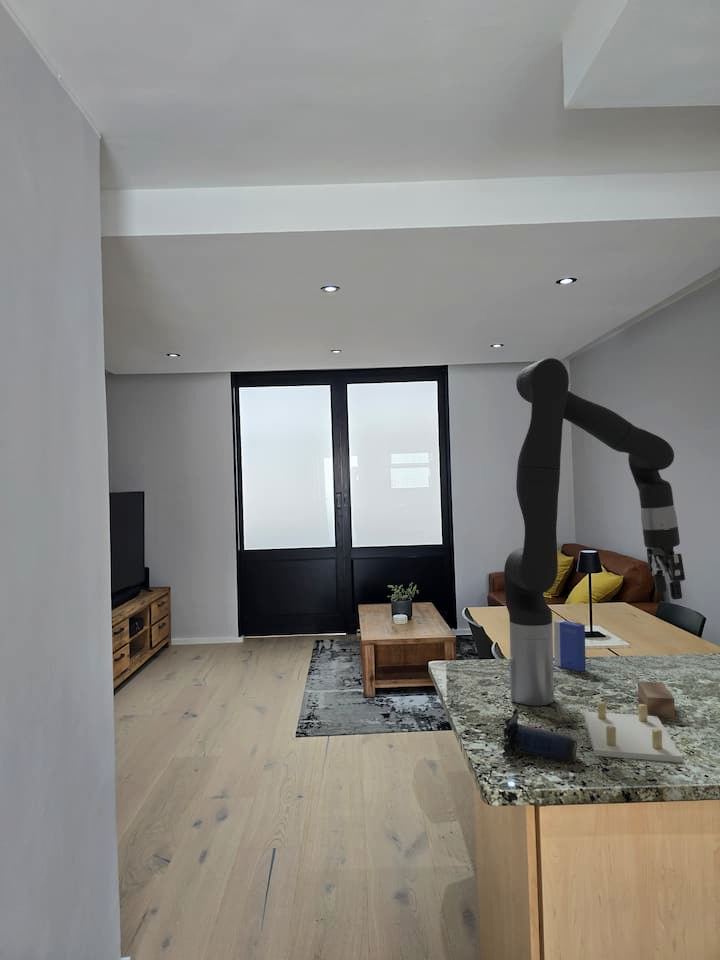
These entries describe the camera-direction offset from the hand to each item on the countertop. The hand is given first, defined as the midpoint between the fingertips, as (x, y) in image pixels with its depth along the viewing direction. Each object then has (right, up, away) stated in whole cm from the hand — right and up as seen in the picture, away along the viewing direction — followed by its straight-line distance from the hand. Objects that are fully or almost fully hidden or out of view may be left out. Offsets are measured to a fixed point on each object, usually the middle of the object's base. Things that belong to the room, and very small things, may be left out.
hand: (668, 595), depth 151 cm
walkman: (-17, -22, +18) cm, 33 cm away
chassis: (-21, -22, -29) cm, 42 cm away
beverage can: (-40, -22, -37) cm, 58 cm away
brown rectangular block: (-10, -22, -14) cm, 28 cm away
